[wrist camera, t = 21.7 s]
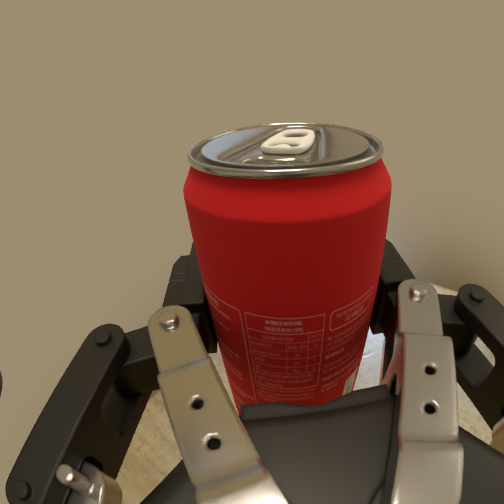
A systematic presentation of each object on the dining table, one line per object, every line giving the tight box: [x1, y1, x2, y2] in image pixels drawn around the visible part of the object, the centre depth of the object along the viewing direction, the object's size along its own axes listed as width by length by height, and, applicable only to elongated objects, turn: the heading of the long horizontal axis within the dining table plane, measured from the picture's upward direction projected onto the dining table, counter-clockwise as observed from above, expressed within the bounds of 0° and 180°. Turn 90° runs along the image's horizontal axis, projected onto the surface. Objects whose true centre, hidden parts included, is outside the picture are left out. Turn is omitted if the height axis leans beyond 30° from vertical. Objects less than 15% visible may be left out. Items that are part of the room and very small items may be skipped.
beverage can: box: [183, 123, 391, 415], centre depth 10 cm, size 5×5×12 cm
